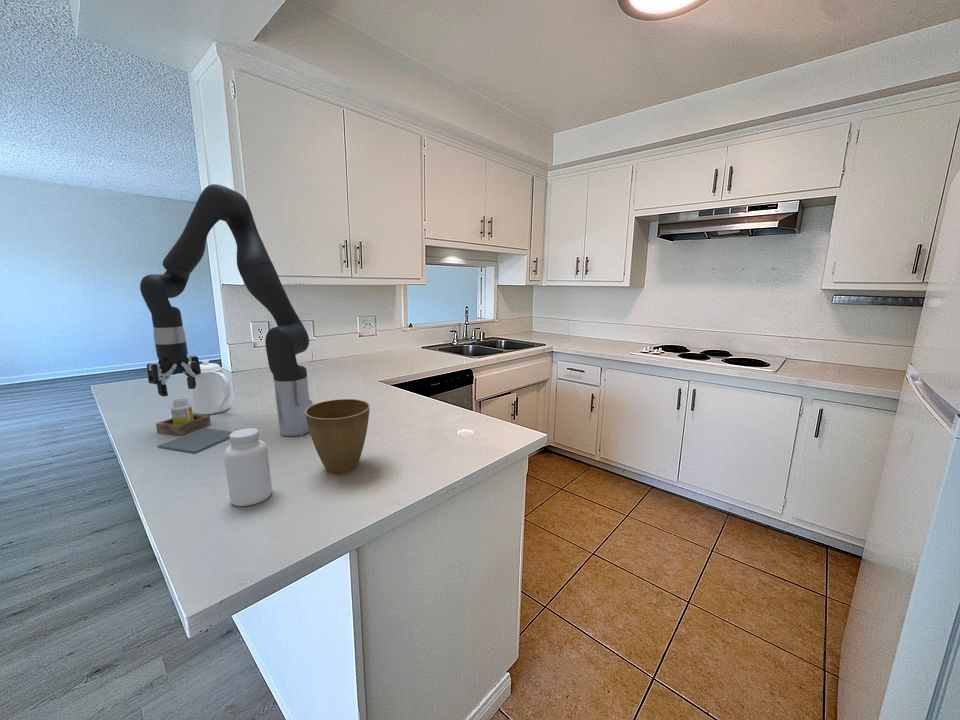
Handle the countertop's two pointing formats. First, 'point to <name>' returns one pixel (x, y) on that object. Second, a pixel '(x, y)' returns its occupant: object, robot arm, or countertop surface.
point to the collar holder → (183, 425)
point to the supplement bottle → (181, 411)
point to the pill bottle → (247, 468)
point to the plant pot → (338, 432)
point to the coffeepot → (211, 390)
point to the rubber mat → (197, 440)
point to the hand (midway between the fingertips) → (178, 392)
